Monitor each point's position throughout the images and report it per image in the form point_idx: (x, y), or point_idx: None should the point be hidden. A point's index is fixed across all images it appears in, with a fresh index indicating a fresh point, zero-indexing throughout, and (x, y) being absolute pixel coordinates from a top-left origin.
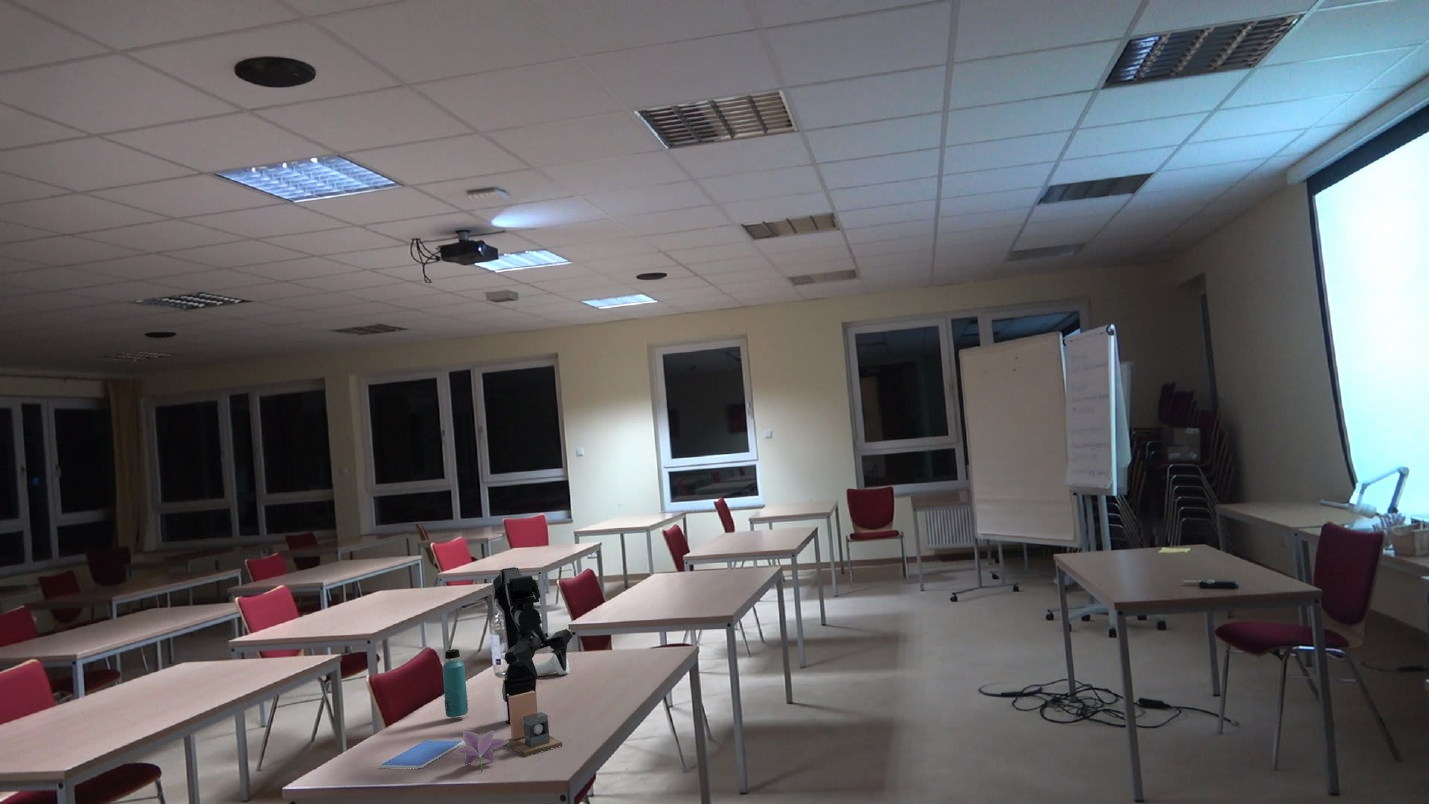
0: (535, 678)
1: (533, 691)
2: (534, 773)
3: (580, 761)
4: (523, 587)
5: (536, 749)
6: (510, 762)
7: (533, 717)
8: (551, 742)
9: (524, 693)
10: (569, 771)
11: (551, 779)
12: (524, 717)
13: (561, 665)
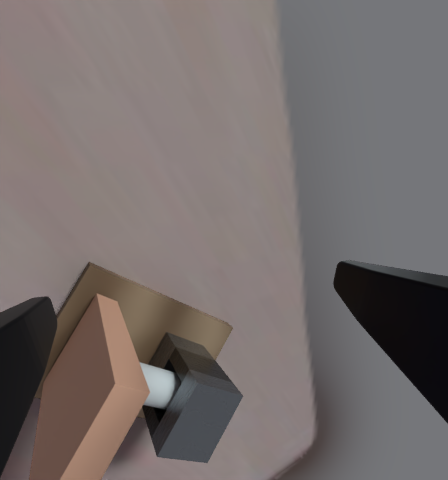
0: (52, 338)
1: (126, 395)
2: (255, 458)
3: (306, 373)
4: None
5: None
6: None
7: (208, 440)
8: (205, 340)
9: (89, 449)
10: (309, 415)
11: (297, 454)
12: (171, 458)
13: (374, 331)
